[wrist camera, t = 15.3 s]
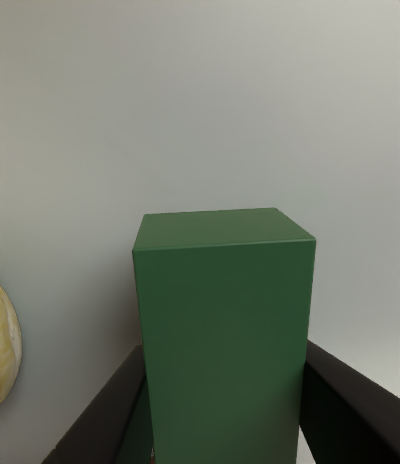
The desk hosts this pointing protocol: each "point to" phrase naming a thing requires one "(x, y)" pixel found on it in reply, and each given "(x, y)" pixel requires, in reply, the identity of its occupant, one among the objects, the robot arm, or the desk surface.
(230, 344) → the dark green foam brick
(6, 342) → the bread roll
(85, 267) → the desk surface
